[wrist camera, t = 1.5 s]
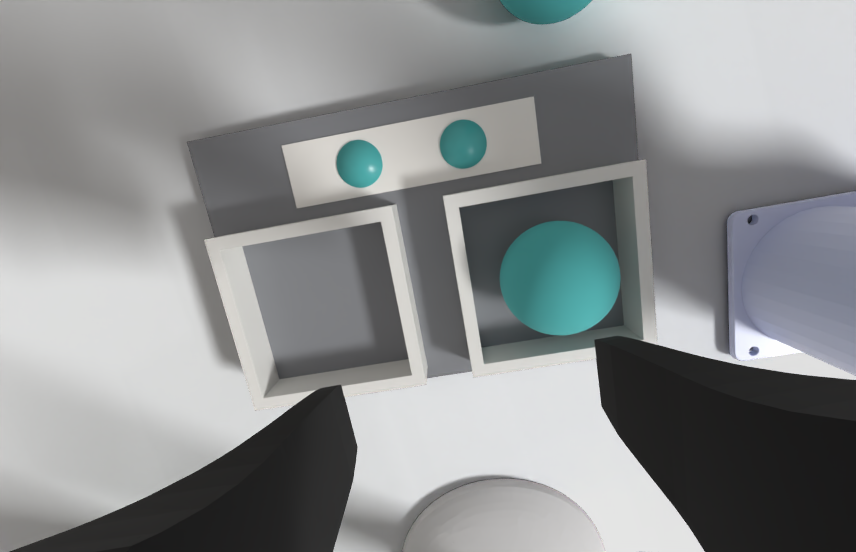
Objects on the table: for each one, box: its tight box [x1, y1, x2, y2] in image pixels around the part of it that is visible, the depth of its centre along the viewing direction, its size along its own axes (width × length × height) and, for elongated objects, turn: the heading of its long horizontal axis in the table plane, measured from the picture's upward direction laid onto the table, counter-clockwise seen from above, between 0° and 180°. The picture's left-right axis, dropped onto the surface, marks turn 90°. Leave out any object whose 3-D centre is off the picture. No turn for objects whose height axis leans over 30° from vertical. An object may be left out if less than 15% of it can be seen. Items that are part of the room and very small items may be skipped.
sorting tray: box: [187, 54, 657, 411], centre depth 19 cm, size 21×14×3 cm, turn 100°
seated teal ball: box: [500, 221, 621, 335], centre depth 17 cm, size 5×5×5 cm
